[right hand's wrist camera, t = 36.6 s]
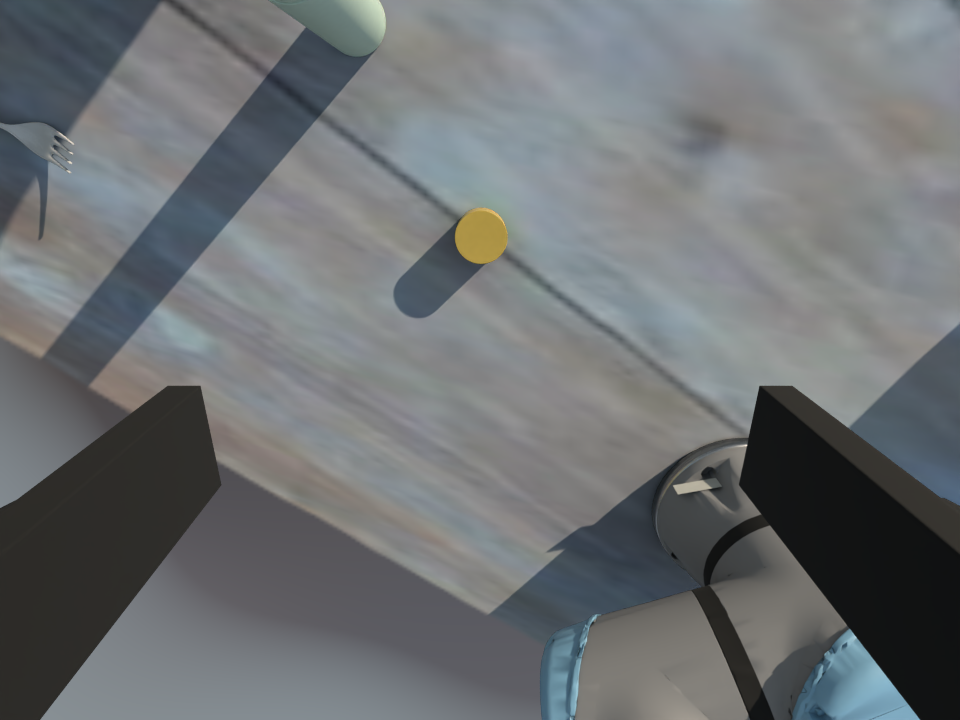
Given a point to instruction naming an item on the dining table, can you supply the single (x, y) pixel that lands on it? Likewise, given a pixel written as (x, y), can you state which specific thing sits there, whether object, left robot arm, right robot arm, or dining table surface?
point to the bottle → (341, 22)
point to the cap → (481, 236)
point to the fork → (39, 140)
